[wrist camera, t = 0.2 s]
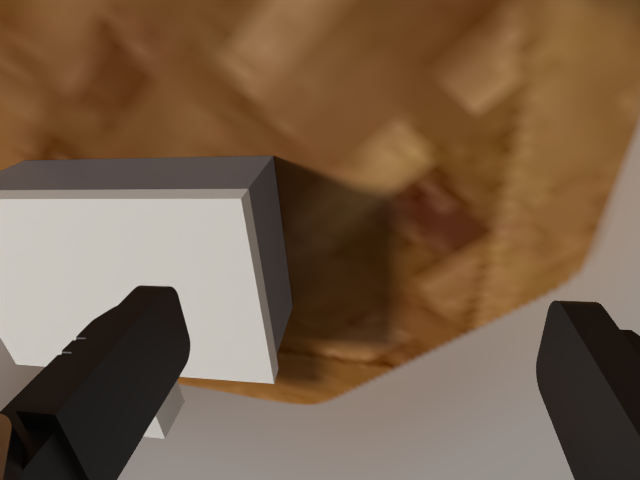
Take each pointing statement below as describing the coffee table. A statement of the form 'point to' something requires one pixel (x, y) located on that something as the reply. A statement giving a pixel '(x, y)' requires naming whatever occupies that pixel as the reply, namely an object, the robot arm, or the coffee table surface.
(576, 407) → the robot arm
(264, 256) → the tub
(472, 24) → the coffee table surface
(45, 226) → the lid
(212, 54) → the coffee table surface
